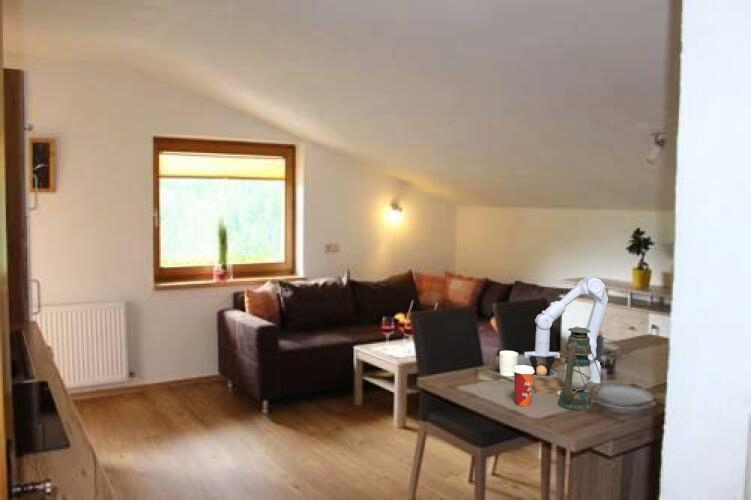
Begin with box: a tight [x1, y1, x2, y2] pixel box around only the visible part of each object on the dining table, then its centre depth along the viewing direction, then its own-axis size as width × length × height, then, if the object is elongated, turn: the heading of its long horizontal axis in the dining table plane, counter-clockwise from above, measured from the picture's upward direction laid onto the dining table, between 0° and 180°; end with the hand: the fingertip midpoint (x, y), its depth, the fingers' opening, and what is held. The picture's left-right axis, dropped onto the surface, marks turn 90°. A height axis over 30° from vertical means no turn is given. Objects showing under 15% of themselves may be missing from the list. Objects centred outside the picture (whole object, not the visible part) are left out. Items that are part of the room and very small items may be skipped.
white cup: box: [499, 350, 519, 377], centre depth 284 cm, size 8×8×10 cm
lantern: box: [557, 325, 603, 412], centre depth 245 cm, size 19×14×30 cm
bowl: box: [533, 369, 558, 378], centre depth 280 cm, size 13×13×3 cm
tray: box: [532, 376, 565, 395], centre depth 267 cm, size 14×14×2 cm
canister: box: [584, 327, 605, 360], centre depth 308 cm, size 13×13×18 cm
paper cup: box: [513, 364, 535, 407], centre depth 247 cm, size 8×8×14 cm
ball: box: [536, 364, 547, 376], centre depth 280 cm, size 5×5×5 cm
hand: (541, 374), depth 280 cm, fingers closed on ball, 5 cm apart
